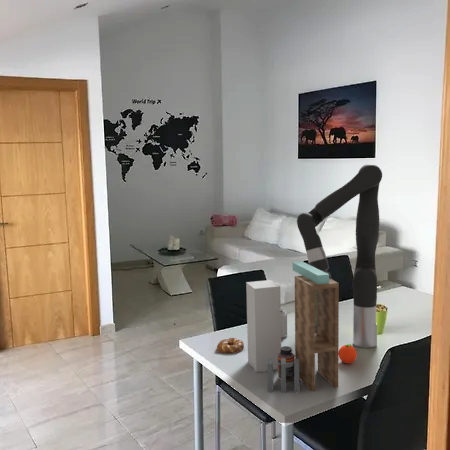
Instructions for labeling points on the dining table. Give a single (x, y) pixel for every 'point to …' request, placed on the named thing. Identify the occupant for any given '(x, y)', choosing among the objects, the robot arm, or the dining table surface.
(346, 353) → the clementine
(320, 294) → the stand
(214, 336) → the dining table surface
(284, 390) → the domino
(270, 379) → the domino
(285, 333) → the can
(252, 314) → the block
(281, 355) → the supplement bottle
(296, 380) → the domino
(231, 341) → the braided bread ring
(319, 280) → the block
